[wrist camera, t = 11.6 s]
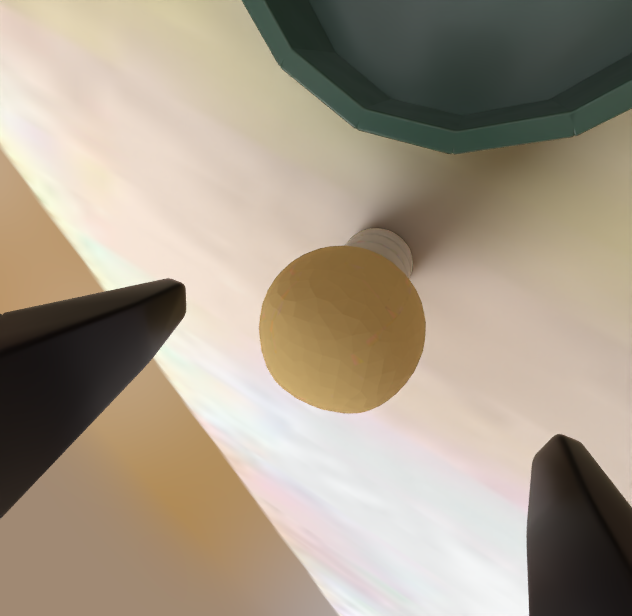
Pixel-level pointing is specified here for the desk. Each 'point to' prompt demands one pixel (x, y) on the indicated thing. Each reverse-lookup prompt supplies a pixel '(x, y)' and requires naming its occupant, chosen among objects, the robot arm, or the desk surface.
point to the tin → (457, 65)
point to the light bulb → (345, 323)
